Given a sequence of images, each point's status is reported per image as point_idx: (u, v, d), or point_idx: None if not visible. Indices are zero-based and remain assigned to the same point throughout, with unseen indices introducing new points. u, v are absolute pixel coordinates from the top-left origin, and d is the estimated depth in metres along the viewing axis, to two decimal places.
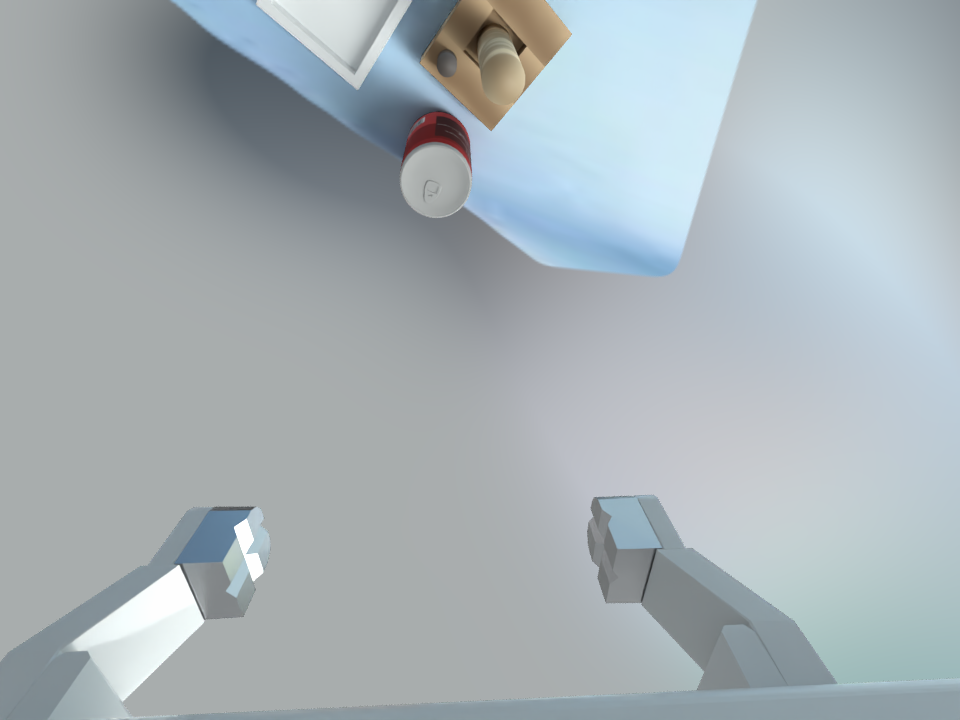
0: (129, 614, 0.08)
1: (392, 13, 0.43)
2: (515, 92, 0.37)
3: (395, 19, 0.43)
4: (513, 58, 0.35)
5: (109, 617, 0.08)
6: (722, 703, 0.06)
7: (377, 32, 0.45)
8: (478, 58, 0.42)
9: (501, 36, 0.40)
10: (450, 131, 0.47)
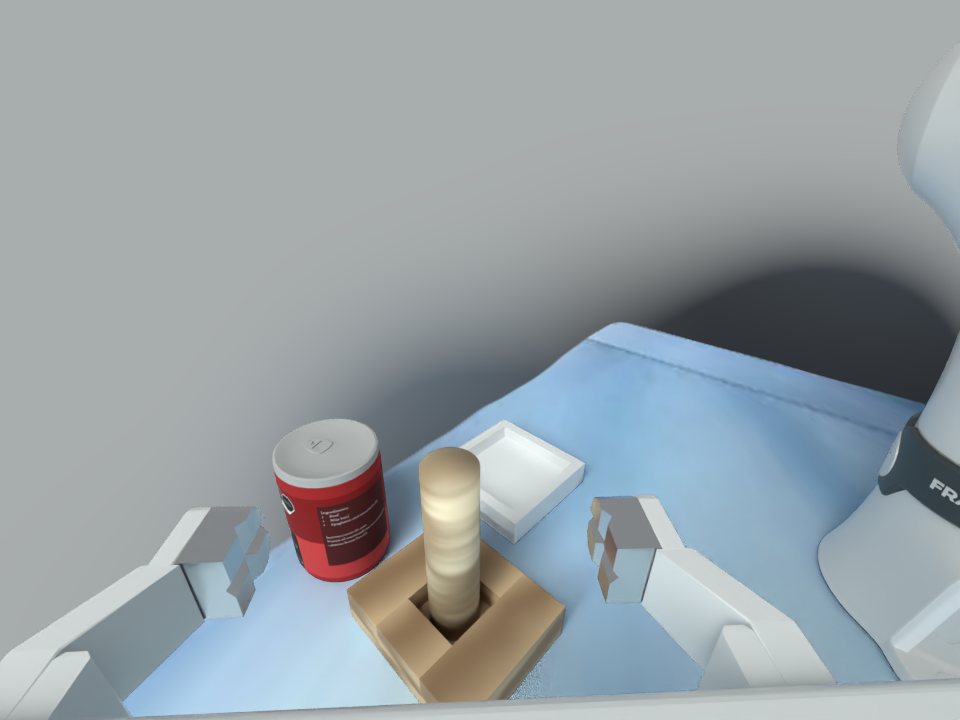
0: (129, 614, 0.08)
1: (496, 500, 0.40)
2: (432, 478, 0.25)
3: (490, 502, 0.40)
4: (475, 476, 0.25)
5: (109, 617, 0.08)
6: (722, 703, 0.06)
7: None
8: None
9: (479, 559, 0.29)
10: (373, 508, 0.34)
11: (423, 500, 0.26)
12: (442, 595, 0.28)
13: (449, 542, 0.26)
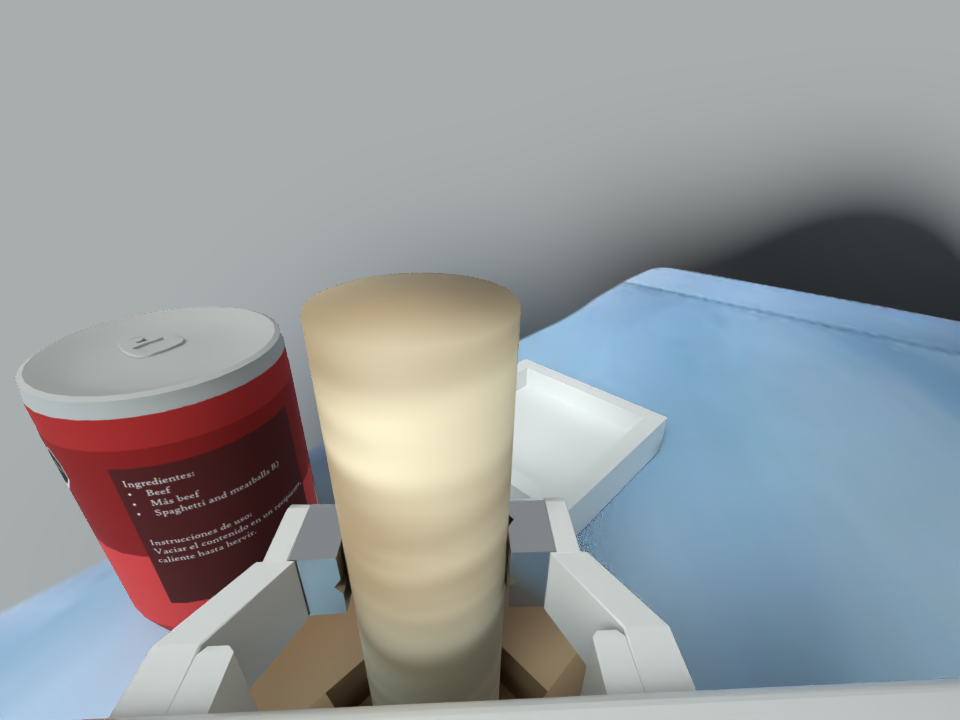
0: (255, 609, 0.08)
1: (521, 474, 0.22)
2: (344, 322, 0.07)
3: (511, 478, 0.22)
4: (505, 322, 0.07)
5: (240, 611, 0.08)
6: (722, 703, 0.06)
7: None
8: None
9: (503, 606, 0.10)
10: (267, 481, 0.16)
11: (321, 417, 0.07)
12: None
13: (412, 565, 0.08)
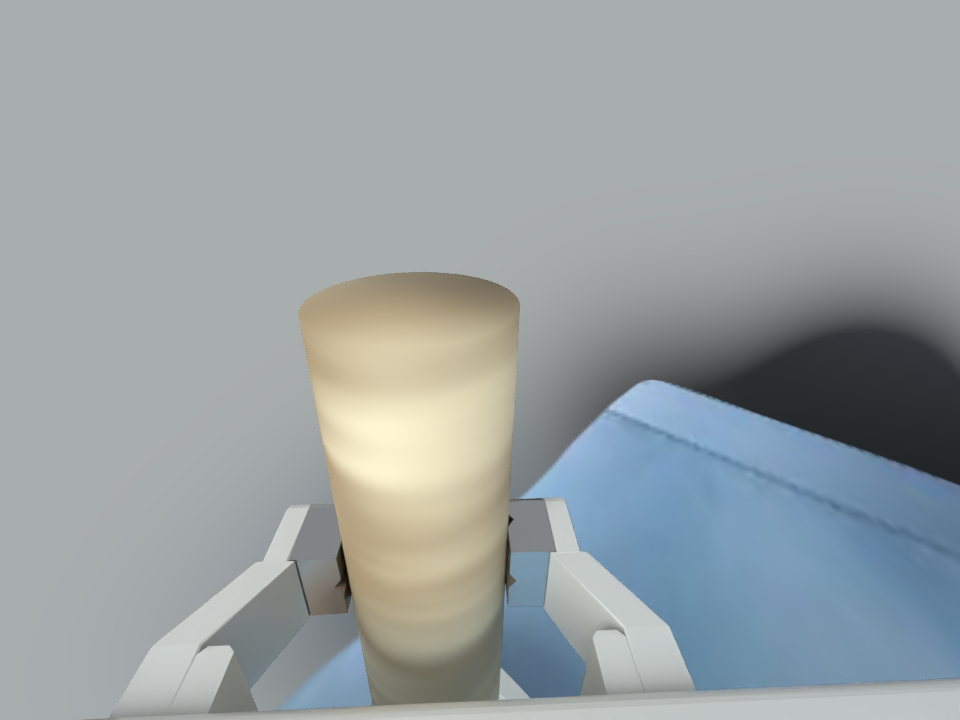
0: (255, 609, 0.08)
1: None
2: (343, 322, 0.07)
3: None
4: (504, 322, 0.07)
5: (240, 612, 0.08)
6: (722, 703, 0.06)
7: None
8: None
9: (502, 606, 0.10)
10: None
11: (320, 417, 0.07)
12: None
13: (412, 565, 0.08)
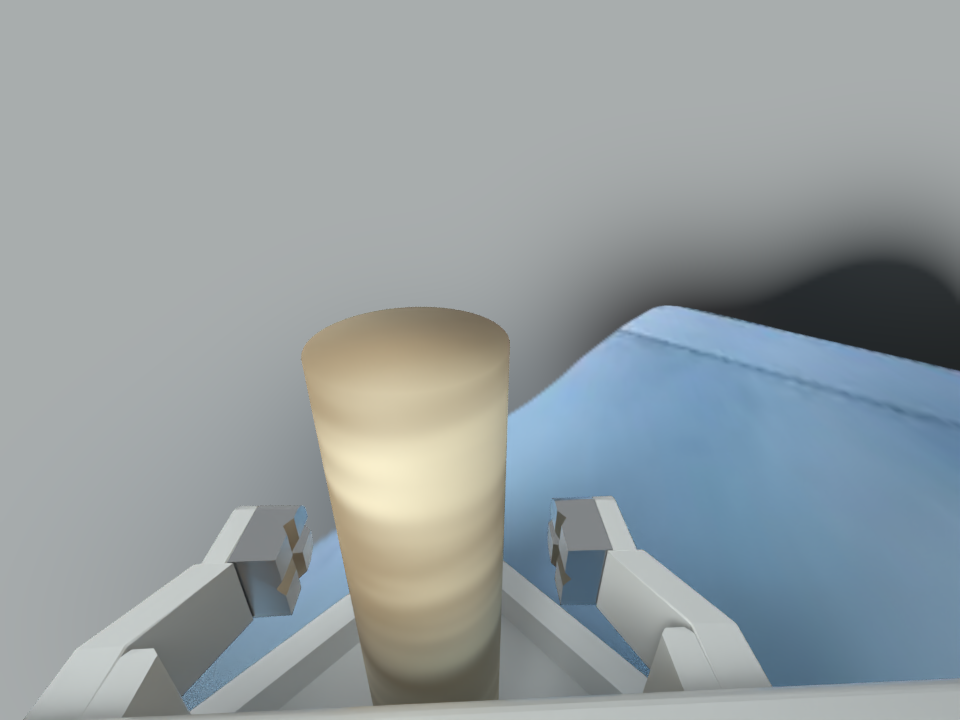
0: (188, 612, 0.08)
1: None
2: (343, 366, 0.07)
3: None
4: (495, 363, 0.07)
5: (170, 614, 0.08)
6: (722, 703, 0.06)
7: None
8: None
9: (500, 624, 0.11)
10: None
11: (322, 452, 0.08)
12: None
13: (410, 590, 0.08)
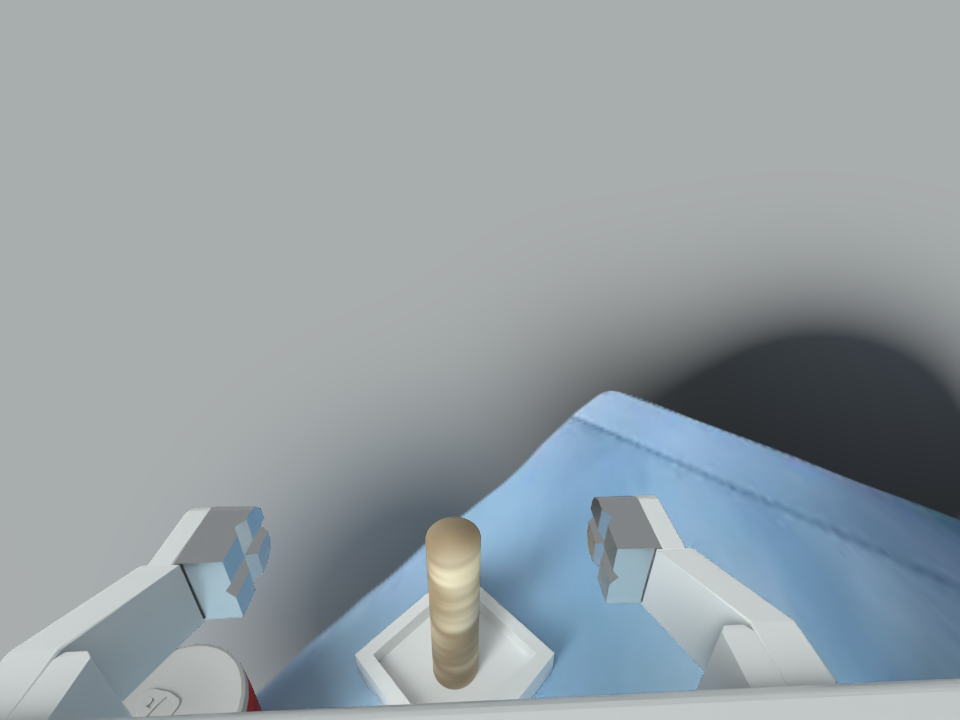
0: (129, 614, 0.08)
1: None
2: (438, 550, 0.28)
3: None
4: (476, 548, 0.28)
5: (110, 617, 0.08)
6: (722, 703, 0.06)
7: None
8: None
9: (478, 616, 0.32)
10: None
11: (429, 568, 0.29)
12: (445, 649, 0.31)
13: (452, 605, 0.29)
